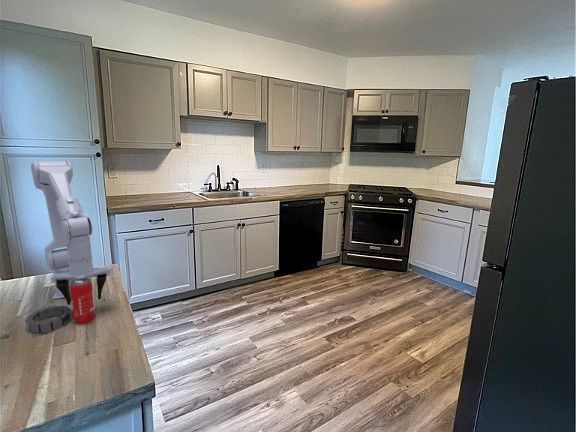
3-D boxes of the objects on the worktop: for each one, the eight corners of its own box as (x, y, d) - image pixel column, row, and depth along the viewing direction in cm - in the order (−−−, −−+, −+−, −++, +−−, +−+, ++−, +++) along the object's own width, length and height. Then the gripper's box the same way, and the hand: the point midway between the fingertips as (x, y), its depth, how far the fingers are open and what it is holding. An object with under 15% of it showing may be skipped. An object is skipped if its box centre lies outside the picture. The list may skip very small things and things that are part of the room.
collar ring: (31, 317, 91) (30, 309, 91) (73, 310, 96) (72, 303, 96) (22, 336, 83) (21, 328, 82) (68, 327, 87) (67, 319, 87)
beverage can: (85, 325, 89) (80, 286, 86) (69, 323, 90) (64, 284, 87) (99, 316, 94) (95, 278, 91) (84, 313, 95) (80, 276, 92)
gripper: (46, 265, 85) (52, 311, 88) (108, 259, 91) (112, 301, 95) (51, 257, 91) (57, 300, 94) (109, 251, 98) (112, 291, 101)
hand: (84, 300), depth 95 cm, fingers open, 7 cm apart
